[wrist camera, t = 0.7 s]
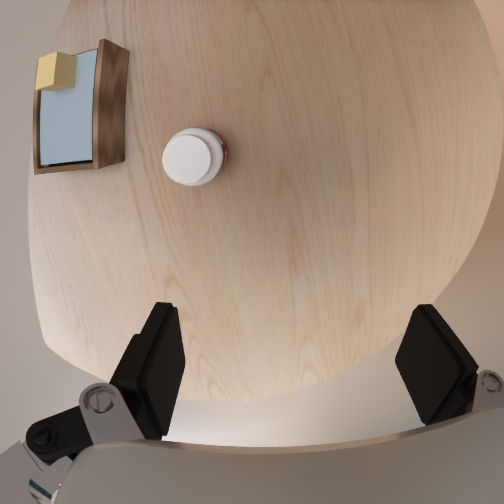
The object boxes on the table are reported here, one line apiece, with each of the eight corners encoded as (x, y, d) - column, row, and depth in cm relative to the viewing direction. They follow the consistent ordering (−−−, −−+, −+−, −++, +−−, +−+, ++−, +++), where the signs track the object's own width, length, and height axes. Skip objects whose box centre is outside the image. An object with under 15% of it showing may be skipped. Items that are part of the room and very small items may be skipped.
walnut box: (67, 66, 29) (37, 60, 22) (129, 51, 29) (104, 38, 22) (64, 165, 35) (34, 174, 29) (124, 161, 35) (98, 168, 29)
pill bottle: (208, 185, 37) (190, 205, 27) (173, 156, 35) (141, 166, 25) (239, 148, 35) (232, 155, 25) (202, 119, 33) (180, 114, 23)
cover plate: (48, 66, 24) (23, 62, 19) (101, 50, 24) (77, 41, 19) (45, 164, 29) (19, 171, 25) (96, 158, 30) (71, 165, 25)
